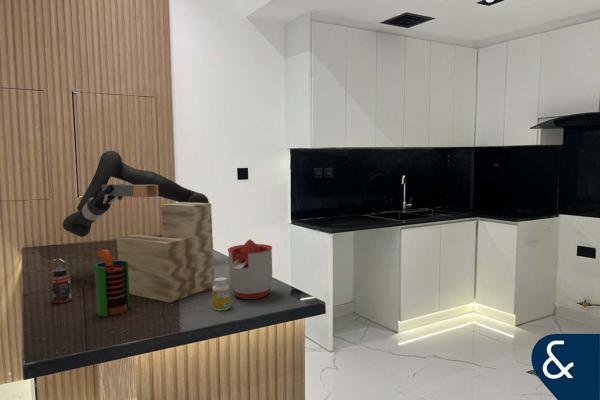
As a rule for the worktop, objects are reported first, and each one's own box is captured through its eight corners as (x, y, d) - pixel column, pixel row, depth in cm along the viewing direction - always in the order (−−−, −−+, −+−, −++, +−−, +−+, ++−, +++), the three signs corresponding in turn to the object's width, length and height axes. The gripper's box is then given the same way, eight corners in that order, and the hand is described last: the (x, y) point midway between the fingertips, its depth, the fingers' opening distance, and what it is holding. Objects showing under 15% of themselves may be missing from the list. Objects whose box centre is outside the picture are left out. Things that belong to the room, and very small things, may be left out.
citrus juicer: (218, 301, 152) (215, 243, 150) (243, 287, 168) (241, 235, 166) (259, 305, 146) (256, 245, 144) (281, 290, 162) (279, 236, 161)
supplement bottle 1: (75, 299, 159) (73, 268, 158) (61, 304, 153) (59, 272, 152) (62, 298, 161) (60, 267, 160) (48, 303, 155) (46, 271, 154)
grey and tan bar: (114, 194, 175) (113, 184, 174) (158, 195, 161) (158, 184, 160) (100, 195, 170) (99, 185, 169) (144, 197, 156) (144, 185, 155)
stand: (166, 278, 185) (162, 201, 182) (214, 286, 170) (210, 203, 168) (120, 292, 166) (114, 207, 164) (169, 302, 152) (164, 209, 149)
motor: (115, 317, 139) (111, 254, 137) (90, 315, 141) (85, 253, 139) (133, 306, 149) (130, 247, 147) (110, 305, 151) (106, 247, 149)
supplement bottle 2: (214, 305, 147) (212, 277, 146) (230, 305, 148) (229, 276, 147) (212, 311, 142) (211, 281, 141) (229, 310, 142) (228, 280, 141)
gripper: (75, 200, 172) (97, 178, 163) (108, 197, 184) (130, 176, 175) (82, 217, 170) (104, 196, 161) (115, 213, 182) (137, 193, 173)
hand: (117, 186), depth 168 cm, fingers closed on grey and tan bar, 4 cm apart
